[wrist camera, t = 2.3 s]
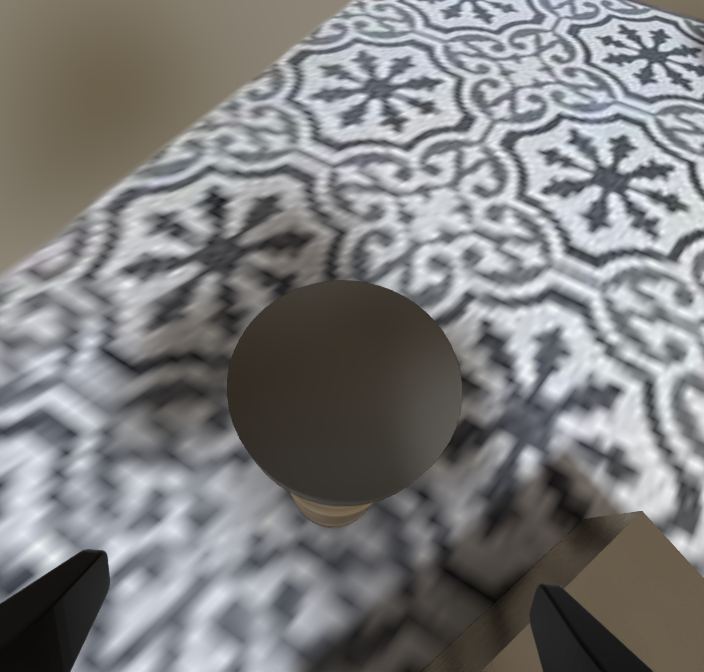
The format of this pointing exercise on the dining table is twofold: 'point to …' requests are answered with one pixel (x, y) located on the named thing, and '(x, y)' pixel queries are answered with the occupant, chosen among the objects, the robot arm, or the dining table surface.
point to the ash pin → (343, 396)
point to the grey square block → (597, 601)
